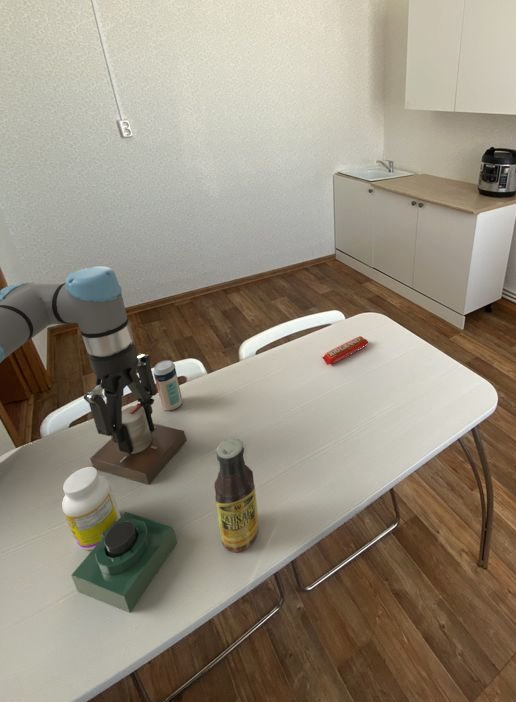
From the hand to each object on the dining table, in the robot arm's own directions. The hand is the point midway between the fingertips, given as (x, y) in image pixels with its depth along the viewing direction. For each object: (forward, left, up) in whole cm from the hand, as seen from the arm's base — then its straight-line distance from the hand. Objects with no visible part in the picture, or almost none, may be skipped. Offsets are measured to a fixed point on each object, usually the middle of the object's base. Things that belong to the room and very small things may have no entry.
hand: (137, 439), depth 81 cm
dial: (0, 0, -1) cm, 1 cm away
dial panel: (0, 0, -4) cm, 4 cm away
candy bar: (+32, +45, -4) cm, 55 cm away
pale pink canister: (-4, +14, -4) cm, 15 cm away
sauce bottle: (+30, -9, -4) cm, 32 cm away
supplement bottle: (+5, -15, -4) cm, 17 cm away
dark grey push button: (+15, -18, +1) cm, 23 cm away
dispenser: (+15, -18, -4) cm, 24 cm away
